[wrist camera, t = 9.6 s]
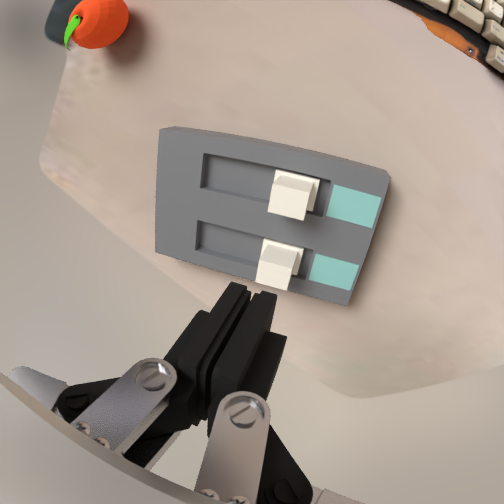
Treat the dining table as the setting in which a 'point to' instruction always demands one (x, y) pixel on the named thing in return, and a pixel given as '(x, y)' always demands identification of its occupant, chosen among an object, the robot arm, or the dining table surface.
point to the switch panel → (263, 208)
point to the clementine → (97, 23)
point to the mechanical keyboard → (466, 27)
